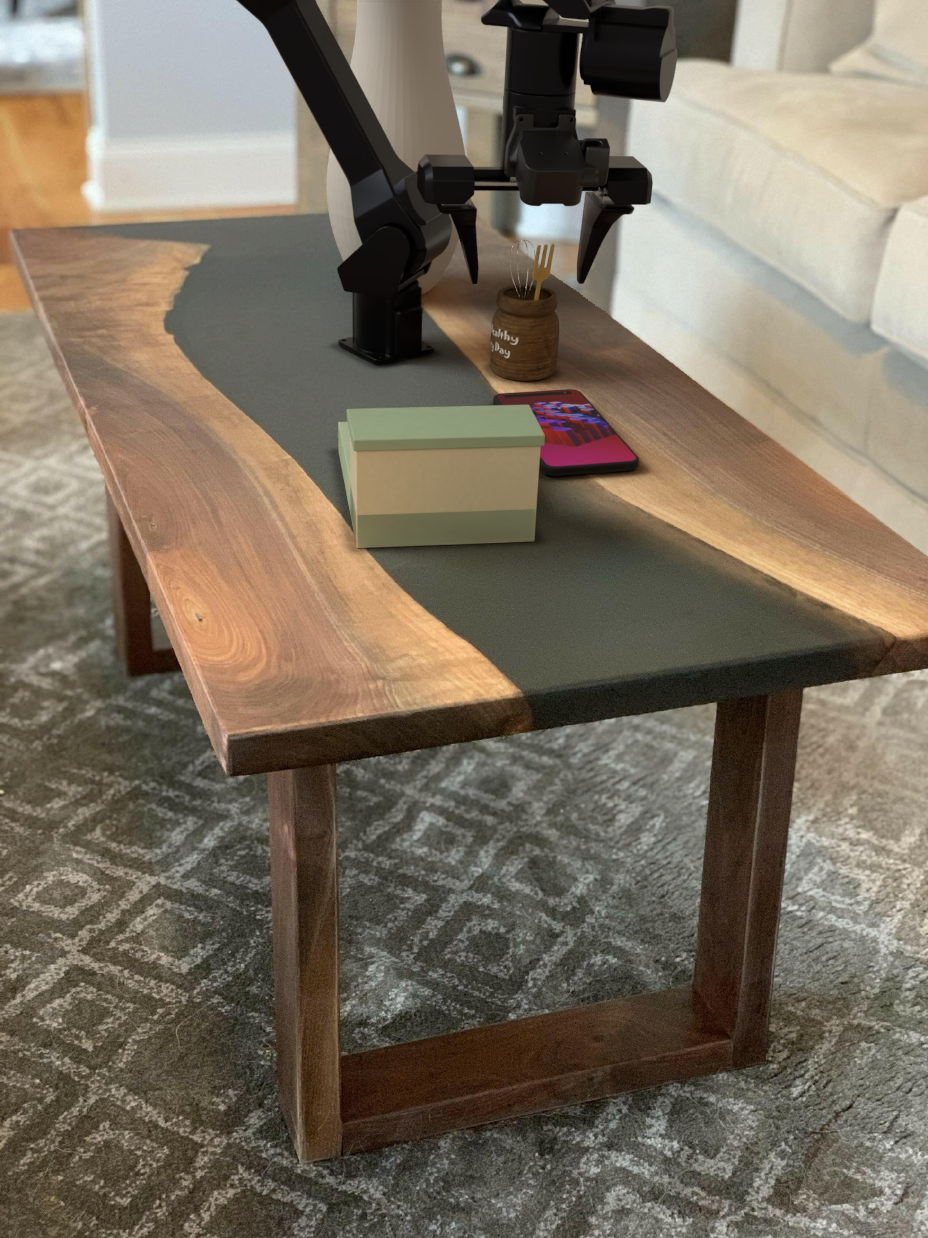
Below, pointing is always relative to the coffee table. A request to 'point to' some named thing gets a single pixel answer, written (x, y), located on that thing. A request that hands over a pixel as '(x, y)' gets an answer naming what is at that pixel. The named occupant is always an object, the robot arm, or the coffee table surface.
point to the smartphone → (573, 433)
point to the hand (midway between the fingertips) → (527, 282)
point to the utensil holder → (526, 326)
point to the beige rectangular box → (441, 474)
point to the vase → (400, 103)
